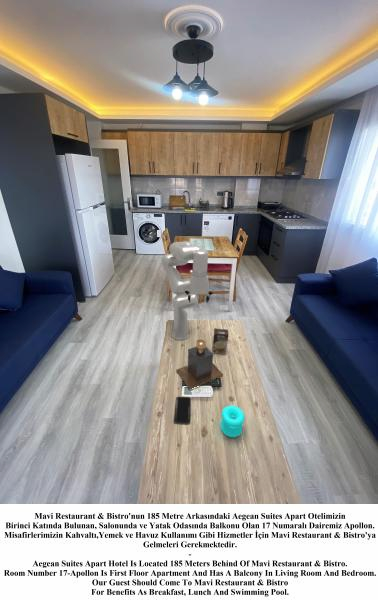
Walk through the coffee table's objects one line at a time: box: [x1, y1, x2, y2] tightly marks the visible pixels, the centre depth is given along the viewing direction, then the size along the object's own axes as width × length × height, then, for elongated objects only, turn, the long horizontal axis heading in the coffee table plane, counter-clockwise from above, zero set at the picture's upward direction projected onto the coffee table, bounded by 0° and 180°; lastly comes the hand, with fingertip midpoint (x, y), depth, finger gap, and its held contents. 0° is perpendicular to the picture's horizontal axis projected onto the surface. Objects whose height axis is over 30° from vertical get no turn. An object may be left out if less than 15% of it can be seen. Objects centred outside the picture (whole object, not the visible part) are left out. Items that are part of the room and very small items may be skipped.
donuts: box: [219, 405, 246, 438], centre depth 109 cm, size 10×10×10 cm
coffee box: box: [211, 328, 229, 356], centre depth 156 cm, size 9×6×16 cm
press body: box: [175, 346, 224, 390], centre depth 137 cm, size 16×22×16 cm
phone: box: [173, 396, 192, 425], centre depth 119 cm, size 8×1×15 cm
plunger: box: [195, 339, 207, 354], centre depth 136 cm, size 8×8×21 cm
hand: (198, 301), depth 136 cm, fingers open, 9 cm apart
